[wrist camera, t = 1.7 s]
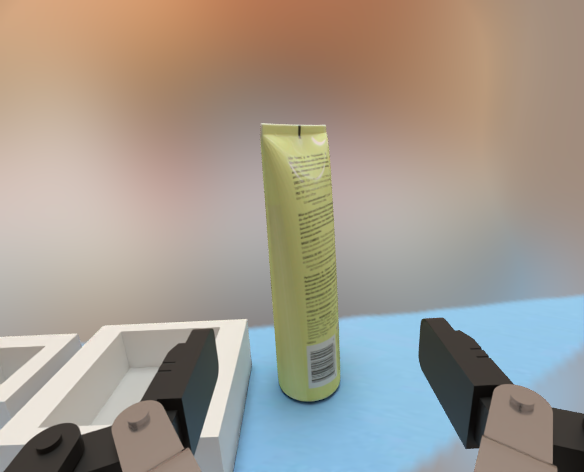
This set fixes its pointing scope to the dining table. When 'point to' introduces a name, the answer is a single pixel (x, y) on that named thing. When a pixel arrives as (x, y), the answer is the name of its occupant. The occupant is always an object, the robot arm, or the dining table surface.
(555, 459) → the robot arm
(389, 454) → the dining table surface
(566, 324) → the dining table surface
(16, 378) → the endcap
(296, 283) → the tube
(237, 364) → the endcap
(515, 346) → the dining table surface
